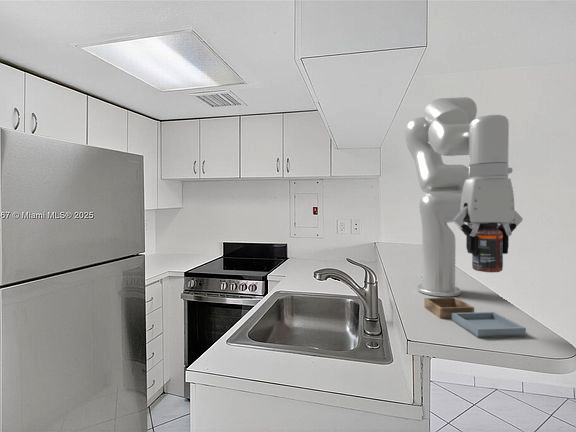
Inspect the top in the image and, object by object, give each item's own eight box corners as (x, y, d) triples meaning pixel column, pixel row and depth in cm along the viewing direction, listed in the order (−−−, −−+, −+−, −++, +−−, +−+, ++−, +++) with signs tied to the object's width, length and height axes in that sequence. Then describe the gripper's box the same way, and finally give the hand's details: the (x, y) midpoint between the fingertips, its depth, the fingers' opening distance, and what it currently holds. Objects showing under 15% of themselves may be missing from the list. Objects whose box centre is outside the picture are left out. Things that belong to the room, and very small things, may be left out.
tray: (451, 320, 80) (451, 313, 80) (493, 319, 81) (493, 311, 81) (477, 337, 70) (478, 329, 70) (525, 336, 70) (525, 328, 70)
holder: (424, 307, 90) (424, 298, 90) (455, 306, 91) (455, 297, 90) (440, 318, 82) (440, 308, 82) (474, 317, 82) (474, 307, 82)
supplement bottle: (497, 268, 77) (498, 219, 76) (506, 273, 71) (507, 221, 71) (468, 267, 78) (469, 219, 78) (475, 272, 73) (476, 221, 72)
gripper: (513, 174, 78) (512, 250, 79) (441, 174, 77) (441, 251, 78) (538, 171, 70) (537, 255, 71) (459, 171, 70) (458, 256, 70)
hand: (487, 252), depth 74 cm, fingers closed on supplement bottle, 6 cm apart
